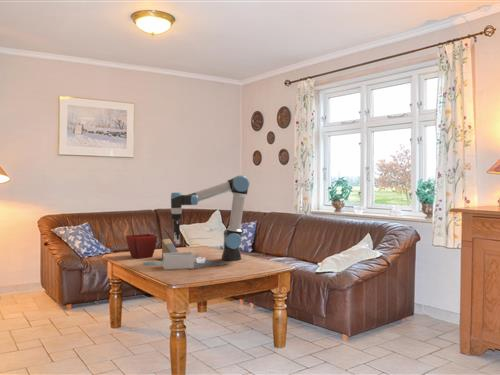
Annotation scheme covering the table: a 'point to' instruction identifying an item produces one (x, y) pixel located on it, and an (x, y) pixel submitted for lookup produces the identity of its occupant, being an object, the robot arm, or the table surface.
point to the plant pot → (141, 245)
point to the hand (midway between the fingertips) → (176, 242)
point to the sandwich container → (168, 247)
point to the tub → (178, 260)
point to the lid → (153, 263)
